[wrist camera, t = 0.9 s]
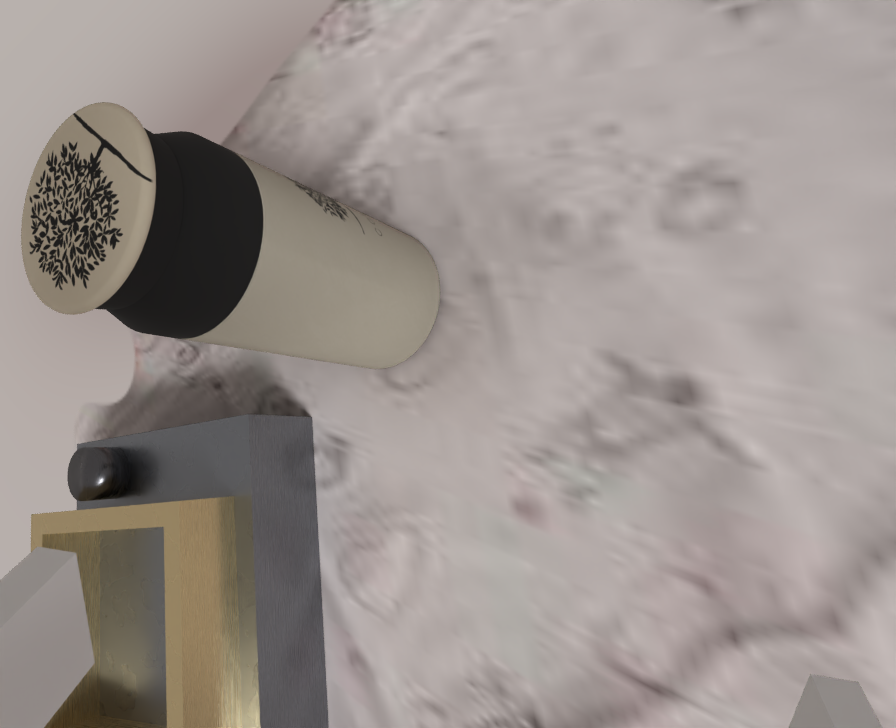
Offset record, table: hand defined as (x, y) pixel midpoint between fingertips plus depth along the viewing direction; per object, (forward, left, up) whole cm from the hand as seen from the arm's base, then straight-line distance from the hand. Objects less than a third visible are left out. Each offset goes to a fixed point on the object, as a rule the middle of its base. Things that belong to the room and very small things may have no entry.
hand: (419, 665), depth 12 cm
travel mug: (-14, -14, -20) cm, 28 cm away
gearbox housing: (+3, -28, -20) cm, 35 cm away
